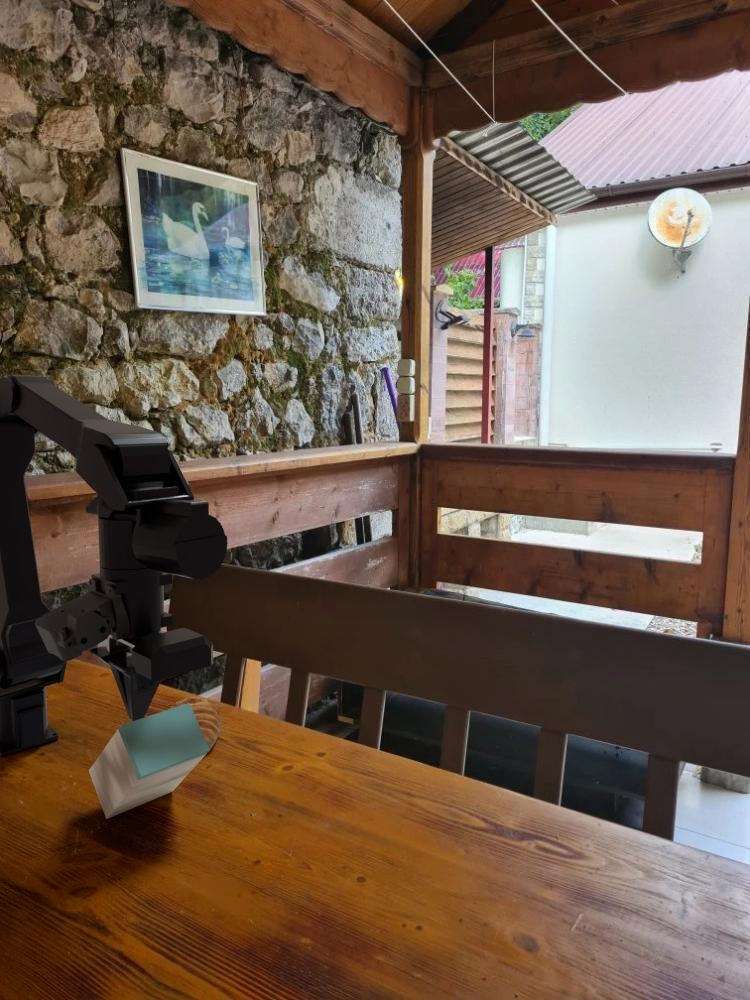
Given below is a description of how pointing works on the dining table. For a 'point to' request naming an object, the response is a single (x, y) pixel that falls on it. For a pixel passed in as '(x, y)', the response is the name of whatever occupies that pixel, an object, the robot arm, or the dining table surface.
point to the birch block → (147, 759)
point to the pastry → (204, 717)
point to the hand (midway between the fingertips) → (136, 719)
